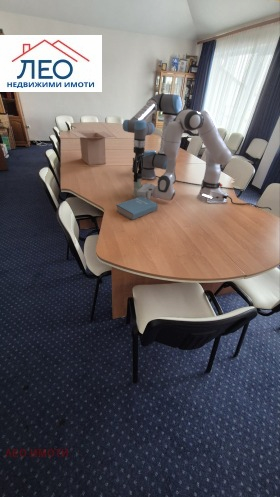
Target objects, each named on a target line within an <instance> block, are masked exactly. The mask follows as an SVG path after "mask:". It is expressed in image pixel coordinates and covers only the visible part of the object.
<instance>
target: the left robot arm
mask: <svg viewBox="0 0 280 497" xmlns="http://www.w3.org/2000/svg"><path fill="white" fill-rule="evenodd" d="M182 106H183V105H182V98H181V96H180V95H179V94H175V93H172V94H171V93H157V94H155V95H153V96H152V97H150V98H149V99H148V100H147V101H146V103H145V105H143V107H142V108H140V109H139V110H138V111H137V112H136V113H135V114H134V115H133V116H132V117H131V118H130V119H124V120H123V122H122V130H123V131H124V132H126V133H131V134H133V136H134V137H133V153H134V154H135V155H134V157H132V169H131V170H132V173H133V175H134V177H133V183H134V182H137V179H138V173H141V174H142V178H141V180H146V181H154V180H156V178H158V179H159V178H160V177H161V176H158V175H157V174H156V169H161V170H165V171H166V167H167V156H166V155H165V153H164V152H163V140H164V135H165V131H166V128H167V125H168V123H170V122H172V121H174V119H175V117H176V115H177V114H178V112H180V111H181V110H182ZM156 112H162V116H163V122H162V131H161V136H160V137H161V138H160V145H159V150H153V149H151V150H150V149H149V150H146V149H145V148H146V136H151V135H153V134H154V132H155V130H156V126H155V124H154V123H153V122H150V121H147V120H148V119H149V117H150V116H151V115H152V114H155V113H156ZM155 168H156V169H155ZM176 182H177V183H182V184H186V185H187V184H188V185H194V186H200V187H201V184H202V183H193V182H188V181H181V180H178V179H176V181H175V183H176ZM219 187H220V186H219ZM220 188H221V189H224V190H225V189H226V190H235V191H243V192H244V191H245V189H244V188H243V189H242V188H236V187H227V186H226V187H225V186H222V187H220Z"/></svg>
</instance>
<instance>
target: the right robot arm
mask: <svg viewBox="0 0 280 497" xmlns="http://www.w3.org/2000/svg"><path fill="white" fill-rule="evenodd" d="M185 131H189V132H192V131H193V132H194V131H197V133H198V135H199V138H200V139H201V140H200V141H201V142H202V144H203V145H204V147H205V149H204V154H205V169H204V175H203V179H202V181H201V183H200V184H201V186H200V190H199V192H198V194H197V196H196V198H197V199H198V201H200V202H204V203H206V204H209V205H214V204H227V201H228V200H227V199H229V200H230V202H231V204H234V205H244V206H245V205H251V206H254V207H255V208H258V209H269V210H270V211H273V210H272V208H271V207H270V206H264V207H263V206H258V205H256V204H253V203H251V202H250V203H249V202H243V203H241V202H240V203H238V202H234V201H233V199H232V197H231V196H229V193H227V192H225V191H224V190H223V188H220V187H223V184H222V182H220V177H221V173H222V169H221V166H226V165H228V164H229V163H230V162H231V160H232V158H233V154H232V152H231V150H230V149H229V147H228V146H227V144H226V143H225V141H224V139H223V137H222V136H221V134H220V132H219V130H218V128H217V125H216V122H215V120H214V118H213V116H212V115H211V113H210V112H209V111H208V110H203V109H202V110H200V111H198V110H194V109H190V108H189V109H181V111H180V112H178V114H177V115H176V117H175V119H174V121H172V122H170V123H168V125H167V128H166V131H165V135H164V140H163V152H164V153H165V155H166V156H167V167H166V170H165V172H164V173H163V174H162V175H161V176H159V177H160V178H158V179H157V185H156V184H153V183H149V182H146V183H144V184H141V187H140V189H137V188H134V187H133V190H134V191H137V196H139V197H140V196H142V197H144V198H146V199H148V200H151V199H159V200H162V201H168V202H170V201H172V200H173V199H174V197H175V195H176V190H175V188H174V184H175V183H176V180H177V176H176V166H177V157H178V155H179V151H180V146H181V143H182V136H183V134H184V132H185Z"/></svg>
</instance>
